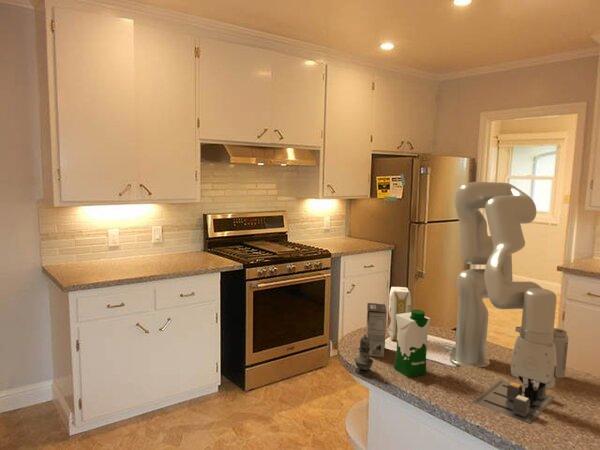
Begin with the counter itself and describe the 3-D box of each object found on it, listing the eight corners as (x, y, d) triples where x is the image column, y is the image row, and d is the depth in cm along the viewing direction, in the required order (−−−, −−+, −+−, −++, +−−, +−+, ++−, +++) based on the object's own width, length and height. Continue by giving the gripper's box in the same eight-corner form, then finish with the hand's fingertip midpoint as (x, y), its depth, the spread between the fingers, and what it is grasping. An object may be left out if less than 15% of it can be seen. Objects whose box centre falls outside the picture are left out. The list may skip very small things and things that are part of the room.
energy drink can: (543, 371, 146) (547, 326, 144) (564, 375, 143) (569, 329, 141) (542, 378, 140) (546, 331, 139) (564, 383, 137) (569, 335, 136)
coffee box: (365, 346, 163) (367, 302, 162) (383, 347, 163) (385, 303, 161) (365, 355, 154) (367, 310, 153) (384, 357, 154) (386, 311, 152)
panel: (471, 406, 122) (471, 401, 122) (499, 383, 136) (500, 379, 136) (530, 428, 112) (530, 424, 112) (554, 401, 126) (555, 397, 126)
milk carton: (408, 379, 137) (411, 315, 135) (389, 367, 145) (392, 307, 143) (430, 374, 141) (434, 312, 139) (411, 363, 149) (414, 304, 147)
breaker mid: (505, 398, 124) (507, 384, 123) (510, 394, 126) (511, 380, 126) (517, 402, 122) (518, 388, 121) (522, 397, 124) (523, 384, 124)
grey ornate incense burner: (350, 368, 144) (352, 332, 142) (366, 366, 146) (368, 330, 145) (360, 376, 138) (361, 338, 137) (376, 373, 141) (378, 336, 139)
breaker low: (512, 412, 116) (513, 398, 116) (517, 407, 119) (518, 393, 118) (524, 417, 114) (526, 402, 114) (529, 411, 117) (530, 397, 116)
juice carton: (406, 334, 177) (408, 286, 174) (409, 342, 168) (412, 292, 166) (386, 333, 177) (389, 285, 175) (389, 341, 169) (391, 291, 167)
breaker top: (529, 395, 125) (530, 382, 125) (533, 391, 128) (535, 378, 128) (541, 399, 123) (542, 386, 123) (545, 395, 126) (546, 382, 126)
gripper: (502, 331, 121) (496, 396, 123) (564, 347, 111) (557, 418, 113) (512, 325, 127) (506, 387, 129) (572, 340, 116) (565, 407, 118)
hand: (530, 401), depth 121 cm, fingers closed
